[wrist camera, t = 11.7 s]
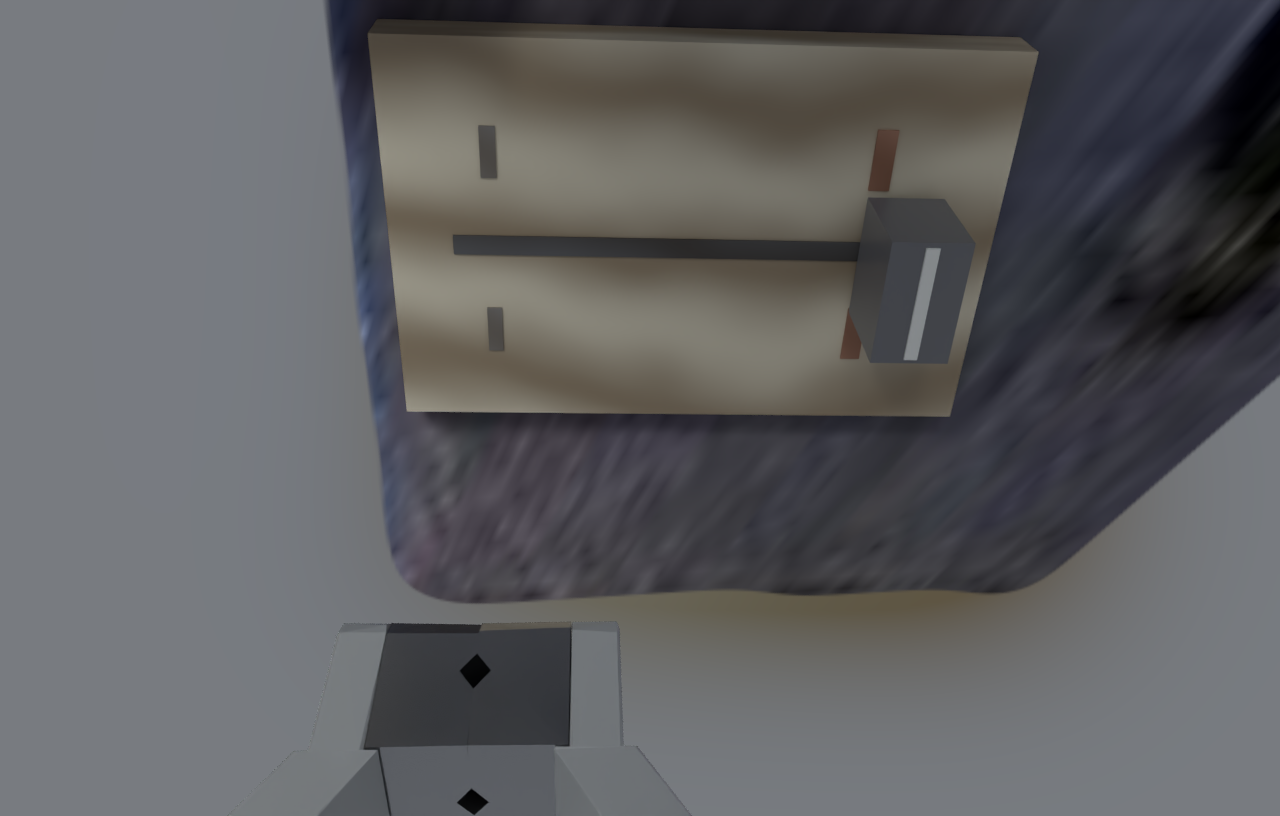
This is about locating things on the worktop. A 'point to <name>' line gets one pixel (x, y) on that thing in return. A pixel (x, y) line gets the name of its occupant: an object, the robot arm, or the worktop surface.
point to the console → (672, 209)
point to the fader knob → (910, 280)
